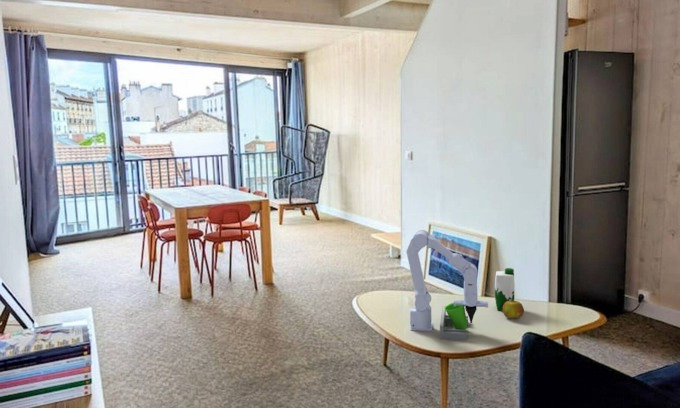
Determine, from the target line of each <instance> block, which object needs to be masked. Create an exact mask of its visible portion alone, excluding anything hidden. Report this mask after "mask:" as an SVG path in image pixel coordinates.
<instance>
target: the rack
mask: <svg viewBox="0 0 680 408" xmlns="http://www.w3.org/2000/svg"><path fill="white" fill-rule="evenodd" d="M445 307H446V306H442V309H441V317H440V324H439V340H448V341H450V340H451V341H463V342H464V341H466V342H468V341H469V329H466V330H462V329H455V328H446V326H447V325H448V326H454V325H453V323H452V321H451V319H450V317H449V315H448V314H446V313H447V312H446V310H445V309H444V308H445ZM466 321H467V327H468V326H469V316H468V315H466Z"/></svg>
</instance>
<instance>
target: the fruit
mask: <svg viewBox="0 0 680 408" xmlns="http://www.w3.org/2000/svg"><path fill="white" fill-rule="evenodd" d="M524 309H525V308H524V306H523V303H521V302H520V301H519V300H514V301H507V302H505V303H504V305H503V311H502V313H503V315H504V317H506V318H508V319H519V318H520V319H521V318H522V316H523V315H524V314H525V310H524Z"/></svg>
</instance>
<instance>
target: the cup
mask: <svg viewBox="0 0 680 408" xmlns="http://www.w3.org/2000/svg"><path fill="white" fill-rule="evenodd" d="M444 307H445V308H444V309H445V310H446V313H447V314H446V315H449V317H450V319H451V321H452V323H453V325H452V326H453V327H454V329H462V330H468V326H467V321H466V316H467V315H466V309H465V306H464V305H463V306H456V307H455V306H454V302H451V303H449V304H447V305H446V306H444Z"/></svg>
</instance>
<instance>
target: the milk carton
mask: <svg viewBox="0 0 680 408" xmlns="http://www.w3.org/2000/svg"><path fill="white" fill-rule="evenodd" d="M494 279H495V280H494V298H495V304H496V309H497V311H499V312H503V305H504V303H505V302H507V301H515V269H514V268H511V267H506V268H505V269H504V270H501V271H500V270H496V272H495V278H494Z"/></svg>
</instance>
